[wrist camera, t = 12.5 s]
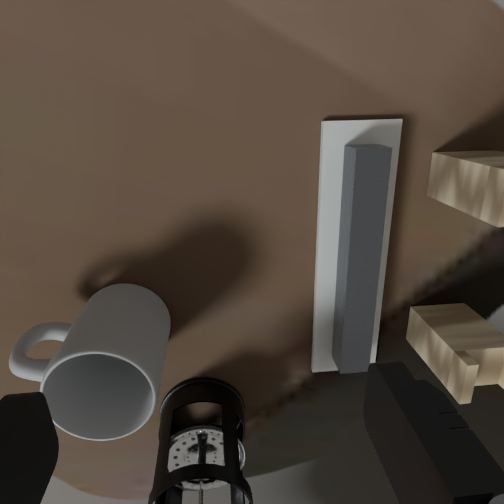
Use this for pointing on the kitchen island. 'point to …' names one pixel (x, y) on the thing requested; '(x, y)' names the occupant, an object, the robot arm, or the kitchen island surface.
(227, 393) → the french press
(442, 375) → the post
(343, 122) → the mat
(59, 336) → the mug
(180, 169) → the kitchen island surface
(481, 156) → the post
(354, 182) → the rail
